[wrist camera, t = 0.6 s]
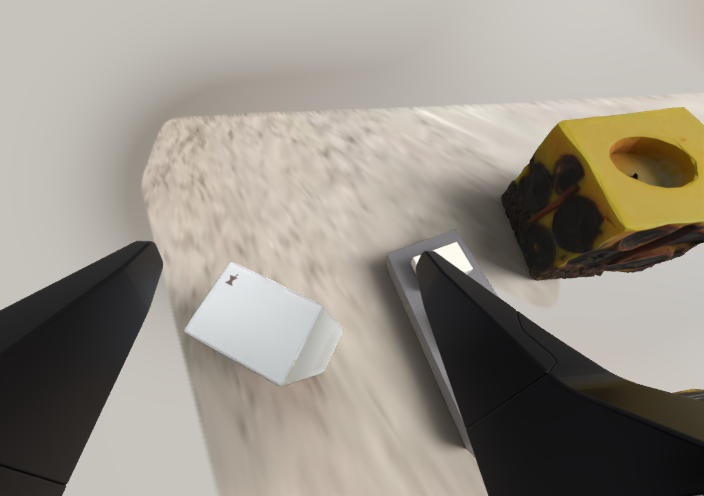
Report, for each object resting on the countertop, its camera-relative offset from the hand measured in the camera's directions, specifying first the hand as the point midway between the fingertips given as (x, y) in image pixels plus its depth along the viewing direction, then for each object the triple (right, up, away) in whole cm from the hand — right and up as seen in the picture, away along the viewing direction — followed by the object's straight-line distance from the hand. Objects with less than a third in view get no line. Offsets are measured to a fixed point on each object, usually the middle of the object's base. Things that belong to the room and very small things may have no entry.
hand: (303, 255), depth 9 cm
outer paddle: (+9, -2, +13) cm, 16 cm away
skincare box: (-2, -8, +15) cm, 17 cm away
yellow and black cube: (+24, +2, +17) cm, 29 cm away
